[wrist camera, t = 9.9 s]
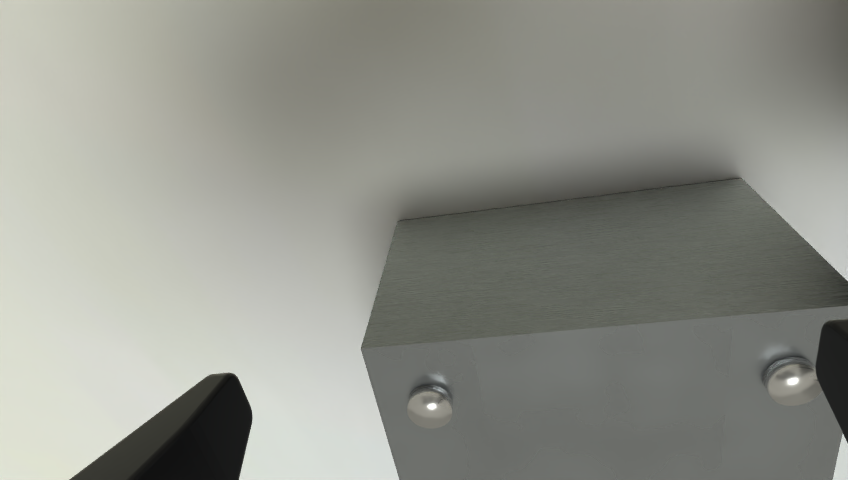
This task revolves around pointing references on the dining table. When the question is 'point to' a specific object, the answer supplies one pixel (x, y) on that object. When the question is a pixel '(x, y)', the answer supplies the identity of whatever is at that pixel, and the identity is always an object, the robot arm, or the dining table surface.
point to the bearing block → (606, 341)
